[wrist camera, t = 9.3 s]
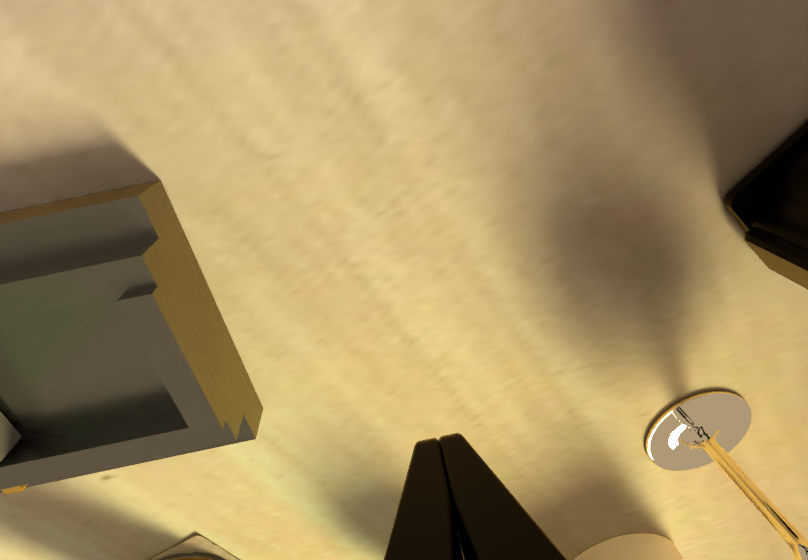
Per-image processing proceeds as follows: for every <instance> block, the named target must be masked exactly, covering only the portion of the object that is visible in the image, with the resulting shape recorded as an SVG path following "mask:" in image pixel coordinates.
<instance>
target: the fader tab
mask: <svg viewBox="0 0 808 560" xmlns="http://www.w3.org/2000/svg"><path fill="white" fill-rule="evenodd" d="M21 437H22V436H21V435H20V434H19V433H18V432H17V430H16V429H15V428H14V427H13V426H12V424H11V423H10V422H9V421H8V420H7V418H6V417H5V416H4V415H3V414H2V412H1V411H0V462H1V461H2V460H3V458H4V457H5V456H6V455H7V454H8V453H9V451H10V450H11V449H12V448H13V447H14V445H15V444H16V443H17V442H18V441H19V439H20V438H21Z"/></svg>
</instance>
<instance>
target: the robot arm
mask: <svg viewBox="0 0 808 560" xmlns="http://www.w3.org/2000/svg"><path fill="white" fill-rule="evenodd" d="M739 197H741V199H740V200H739V201H738V202H737V200H738V199H739ZM724 204H725V206H726V208H727V209H728V210H729V211H730V212H731V214H732V215H733V216H734V217H735V218H736V220H737V221H738V222H739V223H740V224H741V225H742V227H743V228H744V229H745V230H746V231H747V232H746V233H745V234H744V237H745V241H746V243H747V244H748V245H749V246H750V247H751V248H752V249H753V251H754V252H755V253H756V254H757V255H758V256H759V258H760V259H761V260H762V261H763V262H764V263H765V265H766V266H767V267H768V268H769V269H771V270H773V271H775V272H777V273H778V274H780V275H782V276H784V277H786V278H788V279H790V280H791V281H793V282H795V283H797V284H799V285H801V286H803V287H804V288H806V289H808V121H807V122H806V123H805V124H804V125H803V126H802V127H801V128H799V129H798V130H797V131H796V132H795V133H794V134H793V135H792V136H791V137H789V138H788V139H787V140H786V141H785V142H784V143H783V144H782V145H781V146H780V147H778V148H777V149H776V150H775V151H774V152H773V153H772V154H771V155H770V156H768V157H767V158H766V159H765V160H764V161H763V162H762V163H761V164H760V165H758V166H757V167H756V168H755V169H754V170H753V171H752V172H751V173H750V174H748V175H747V176H746V177H745V178H744V179H743V180H742V181H741V182H740V183H738V184H737V185H736V186H735V187H734V188H733V189H732V190H731V191H730V192H729V193H728V194H727V195H726V197H725V200H724ZM458 534H459V535H458ZM459 539H460V540H459ZM460 543H461V545H460ZM461 548H462V550H461ZM462 552H463V555H462ZM463 556H464V560H567V559H566V558H565V557H564V556H563V554H562V553H561V552H560V551H559V550H558V549H557V547H556V546H555V545H554V544H553V543H552V541H551V540H550V539H549V538H548V537H547V535H546V534H545V533H544V532H543V531H542V530H541V528H540V527H539V526H538V525H537V524H536V522H535V521H534V520H533V519H532V518H531V516H530V515H529V514H528V513H527V512H526V511H525V509H524V508H523V507H522V506H521V505H520V503H519V502H518V501H517V500H516V499H515V497H514V496H513V495H512V494H511V493H510V491H509V490H508V489H507V488H506V487H505V486H504V484H503V483H502V482H501V481H500V480H499V478H498V477H497V476H496V475H495V474H494V472H493V471H492V470H491V469H490V468H489V467H488V465H487V464H486V463H485V462H484V461H483V459H482V458H481V457H480V456H479V455H478V453H477V452H476V451H475V450H474V449H473V448H472V446H471V445H470V444H469V443H468V442H467V440H466V439H465V438H464V437H463V436H462V435H461V434H459V433H455V434H450V435H446V436H442V437H440V438H439V441H438V440H437V439H436V438H431V439H427V440H422V441H418V442H417V443H416V444H415V447H414V450H413V454H412V458H411V462H410V465H409V469H408V473H407V476H406V480H405V484H404V487H403V491H402V495H401V498H400V502H399V506H398V510H397V513H396V517H395V521H394V524H393V528H392V532H391V535H390V539H389V543H388V547H387V550H386V554H385V558H384V560H463Z"/></svg>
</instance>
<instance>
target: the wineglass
mask: <svg viewBox="0 0 808 560" xmlns="http://www.w3.org/2000/svg"><path fill="white" fill-rule="evenodd" d="M750 423H751V409H750V407H749V405H748V404H747V402H746V401H745V400H744V399H743V398H741V397H740V396H738V395H736V394H734V393H731V392H726V391H710V392H704V393H700V394H696V395H693V396H691V397H688V398H686V399H684V400H682V401H680V402H678V403H676V404H675V405H673V406H672V407H670V408H669V409H668V410H666V411H665V412H664V413H663V414H662V415H661V416H660V417H659V418H658V419H657V420H656V421H655V423H654V424H653V425H652V427H651V428H650V430H649V432H648V435H647V438H646V443H645V447H646V452H647V455H648V457H649V458H650V460H651V461H652V462H653V463H654V464H656V465H657V466H659V467H661V468H664V469H667V470H674V471H682V470H690V469H695V468H698V467H702V466H704V465H707V464H709V463H712V462H715V463H716V464H717V465H718V466H719V467H720V468H721V469H722V470H723V471H724V473H725V474H726V475H727V476H728V477H729V478H730V479H731V480H732V481H733V483H734V484H735V485H736V486H737V487H738V488H739V489H740V491H741V492H742V493H743V494H744V495H745V496H746V497H747V499H748V500H749V501H750V502H751V503H752V504H753V505H754V507H755V508H756V509H757V510H758V511H759V512H760V513H761V515H762V516H763V517H764V518H765V519H766V520H767V522H768V523H769V524H770V525H771V526H772V527H773V529H774V530H775V531H776V532H777V533H778V534H779V536H780V537H781V538H782V539H783V540H784V541H785V543H786V544H787V545H788V546H789V548H790V549H791V551H792V554H793V557H794V560H808V540H807V539H806V538H805V537H804V536H803V535H802V534H801V533H800V532H799V531H798V530H797V529H796V528H795V527H794V526H793V525H792V524H791V522H790V521H789V520H788V519H787V518H786V517H785V516H784V515H783V514H782V513H781V512H780V511H779V510H778V508H777V507H776V506H775V505H774V504H773V503H772V502H771V501H770V500H769V499H768V498H767V497H766V495H765V494H764V493H763V492H762V491H761V490H760V489H759V488H758V487H757V486H756V485H755V483H754V482H753V481H752V480H751V479H750V478H749V477H748V476H747V475H746V474H745V472H744V471H743V470H742V469H741V468H740V467H739V466H738V465H737V463H736V462H735V461H734V460H733V459H732V458H731V457H730V455H729V454H728V452H730V451H731V450H732V449H733V448H734V447H735V446H736V445H737V444H738V443H739V442H740V441H741V440H742V439H743V437H744V436H745V434H746V433H747V431H748V429H749V426H750Z"/></svg>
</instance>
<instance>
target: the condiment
mask: <svg viewBox="0 0 808 560" xmlns="http://www.w3.org/2000/svg"><path fill="white" fill-rule="evenodd" d="M150 560H239V559H237V558H235V557H233V556H232V555H230V554H229V553H228V552H226V551H224V550H223V549H222V548H220V547H219V546H216V545H214V544H213V543H212V542H211V541H209V540H208V539H205V538H204V537H202V536H197V535H196V536H194V537H191V538H190V539H188V540H186V541H184V542H183V543H180V544H178V545H177V546H175V547H172V548H170V549H168V550H166V551H165V552H163V553H161V554H159V555H157V556H155V557H153V558H152V559H150Z"/></svg>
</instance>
